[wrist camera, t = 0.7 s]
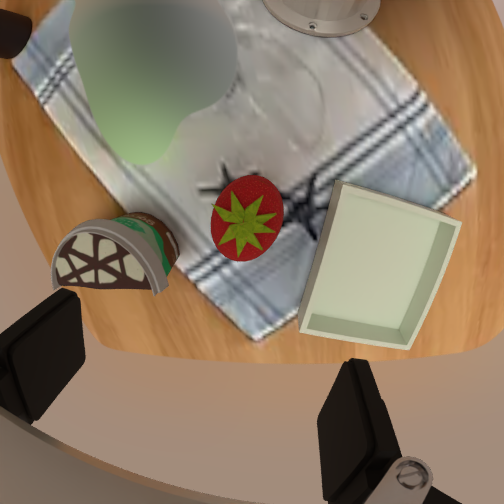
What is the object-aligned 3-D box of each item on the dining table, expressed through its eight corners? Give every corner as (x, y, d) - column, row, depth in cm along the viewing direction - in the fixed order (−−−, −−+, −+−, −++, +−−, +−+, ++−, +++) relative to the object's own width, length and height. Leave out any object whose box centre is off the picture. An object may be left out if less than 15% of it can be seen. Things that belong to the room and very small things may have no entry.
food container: (187, 198, 32) (149, 221, 22) (192, 254, 34) (160, 296, 24) (90, 205, 33) (35, 228, 23) (98, 255, 35) (49, 290, 25)
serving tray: (335, 179, 30) (343, 184, 26) (444, 213, 29) (462, 222, 26) (297, 312, 35) (299, 332, 31) (399, 331, 35) (409, 350, 31)
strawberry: (213, 230, 32) (186, 265, 23) (237, 161, 30) (217, 168, 21) (266, 250, 33) (260, 293, 23) (293, 182, 30) (299, 199, 21)
